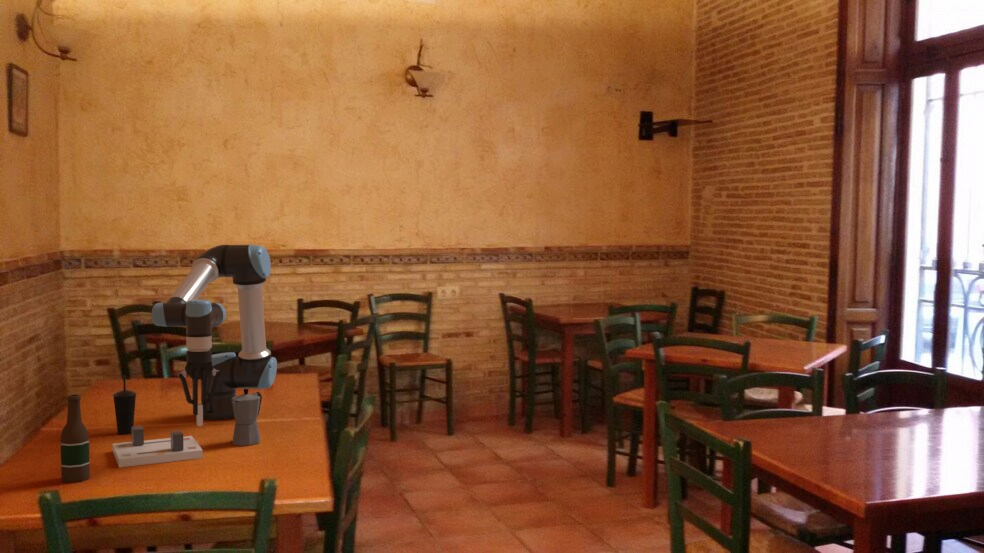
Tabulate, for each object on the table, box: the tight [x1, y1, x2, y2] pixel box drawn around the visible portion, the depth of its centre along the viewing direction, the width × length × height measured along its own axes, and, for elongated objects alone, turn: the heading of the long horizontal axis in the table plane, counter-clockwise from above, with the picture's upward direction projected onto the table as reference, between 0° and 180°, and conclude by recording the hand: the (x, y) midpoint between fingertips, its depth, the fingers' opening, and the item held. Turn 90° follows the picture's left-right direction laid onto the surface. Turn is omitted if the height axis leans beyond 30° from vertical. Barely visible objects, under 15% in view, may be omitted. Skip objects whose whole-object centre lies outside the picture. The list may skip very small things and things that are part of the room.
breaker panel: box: [112, 435, 204, 469], centre depth 281 cm, size 24×20×3 cm
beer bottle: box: [60, 393, 91, 484], centre depth 254 cm, size 8×8×24 cm
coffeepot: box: [231, 388, 263, 447], centre depth 297 cm, size 15×9×18 cm, turn 162°
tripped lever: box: [170, 429, 184, 451], centre depth 277 cm, size 3×5×5 cm, turn 27°
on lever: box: [131, 425, 145, 446], centre depth 283 cm, size 3×5×5 cm, turn 27°
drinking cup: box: [112, 374, 138, 436], centre depth 307 cm, size 8×8×20 cm
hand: (199, 425), depth 280 cm, fingers closed
